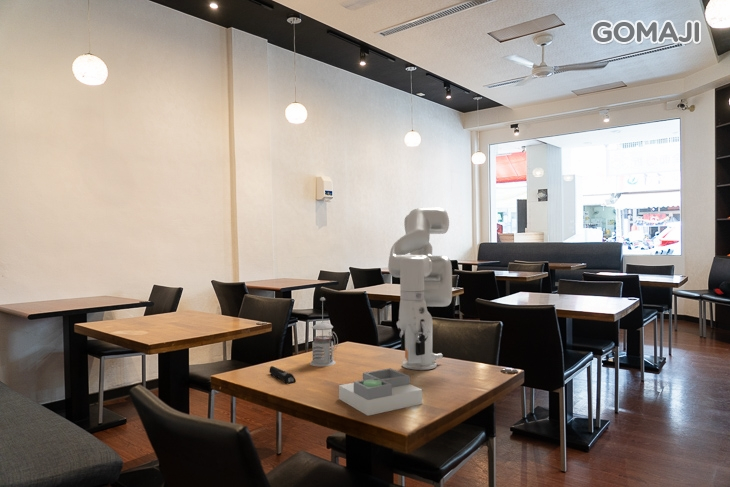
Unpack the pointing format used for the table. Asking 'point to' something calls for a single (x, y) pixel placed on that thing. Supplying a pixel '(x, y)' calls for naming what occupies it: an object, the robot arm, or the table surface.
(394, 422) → the table surface
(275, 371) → the electric trimmer
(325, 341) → the french press
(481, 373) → the table surface
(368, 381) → the on button
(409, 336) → the skincare box
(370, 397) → the white socket tray
